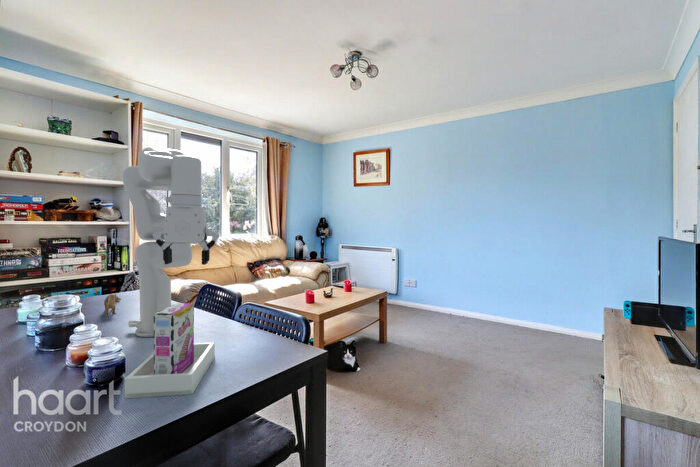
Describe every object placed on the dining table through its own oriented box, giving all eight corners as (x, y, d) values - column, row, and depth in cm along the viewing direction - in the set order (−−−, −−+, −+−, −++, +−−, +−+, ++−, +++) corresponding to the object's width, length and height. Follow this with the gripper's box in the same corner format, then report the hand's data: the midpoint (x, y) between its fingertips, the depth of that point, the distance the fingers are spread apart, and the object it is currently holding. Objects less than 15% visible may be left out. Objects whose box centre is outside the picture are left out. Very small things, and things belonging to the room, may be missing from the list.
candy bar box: (174, 382, 80) (172, 314, 79) (153, 382, 80) (151, 313, 79) (195, 362, 91) (194, 302, 90) (177, 362, 91) (176, 302, 90)
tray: (125, 398, 74) (124, 378, 74) (162, 360, 94) (162, 344, 94) (192, 394, 76) (191, 374, 76) (214, 357, 96) (214, 342, 96)
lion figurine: (122, 315, 137) (121, 293, 137) (106, 318, 133) (106, 295, 133) (113, 308, 147) (113, 288, 147) (98, 311, 143) (98, 290, 143)
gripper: (146, 200, 87) (147, 265, 88) (215, 202, 89) (215, 266, 90) (159, 201, 95) (159, 261, 96) (222, 203, 97) (222, 262, 98)
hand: (186, 263), depth 93 cm, fingers open, 9 cm apart
